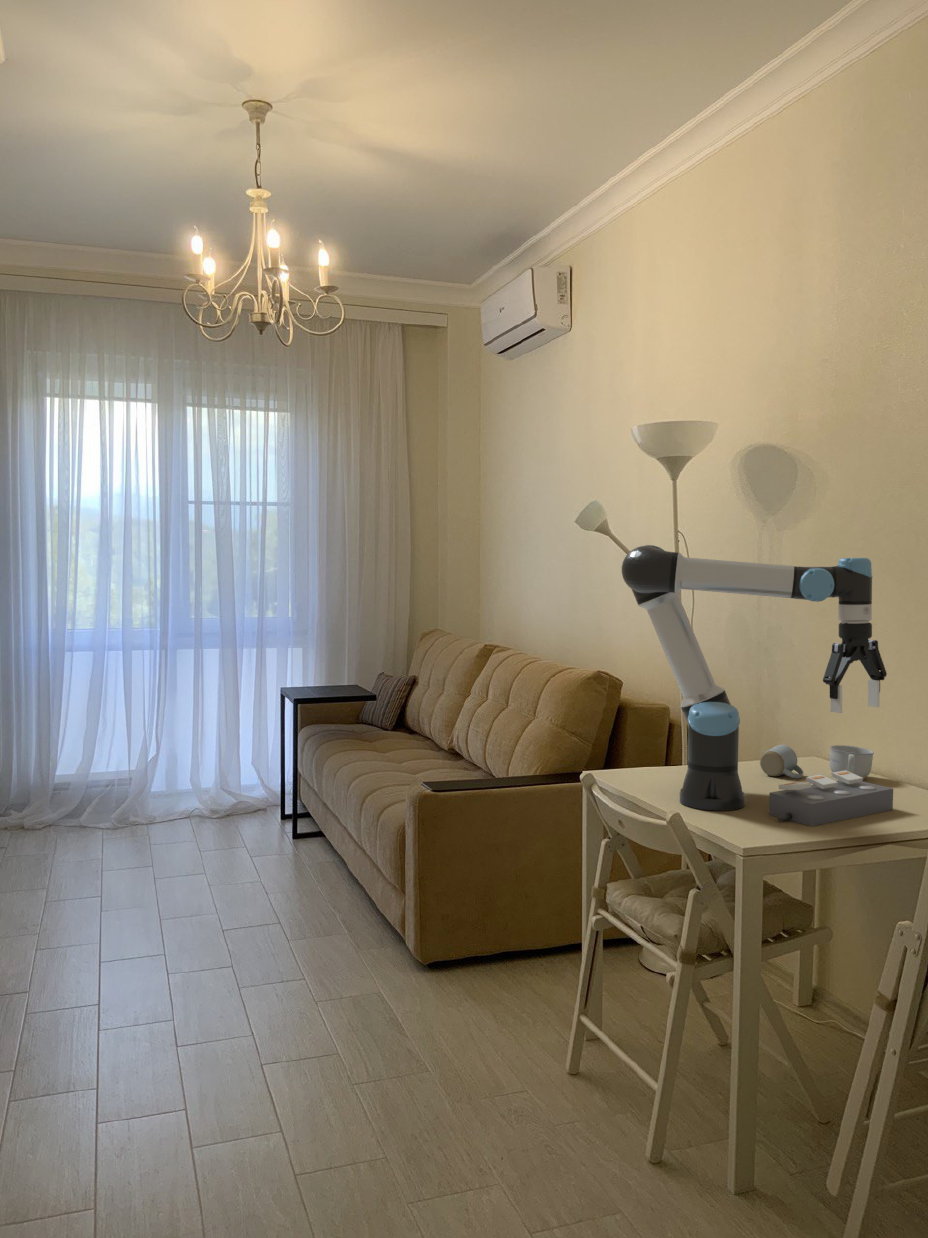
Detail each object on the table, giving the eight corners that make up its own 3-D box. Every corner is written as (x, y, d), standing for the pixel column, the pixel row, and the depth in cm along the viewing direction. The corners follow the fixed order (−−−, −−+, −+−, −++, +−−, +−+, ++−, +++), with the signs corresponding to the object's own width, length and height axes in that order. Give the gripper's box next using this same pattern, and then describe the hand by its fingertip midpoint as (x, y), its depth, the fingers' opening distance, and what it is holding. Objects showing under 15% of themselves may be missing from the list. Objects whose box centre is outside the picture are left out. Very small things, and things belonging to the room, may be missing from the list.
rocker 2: (822, 790, 235) (823, 784, 235) (805, 782, 240) (806, 776, 239) (836, 787, 238) (837, 781, 238) (819, 779, 242) (820, 774, 242)
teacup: (833, 771, 279) (834, 742, 278) (875, 776, 273) (876, 747, 273) (822, 781, 267) (823, 751, 266) (866, 787, 261) (867, 756, 261)
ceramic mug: (757, 775, 275) (758, 747, 274) (770, 770, 281) (771, 742, 280) (795, 782, 268) (796, 753, 267) (808, 776, 274) (809, 748, 273)
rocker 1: (796, 791, 231) (795, 785, 231) (779, 790, 235) (778, 784, 235) (811, 788, 233) (810, 782, 233) (794, 788, 237) (793, 781, 237)
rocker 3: (848, 785, 240) (849, 779, 240) (831, 777, 244) (832, 772, 244) (862, 783, 243) (863, 777, 242) (844, 775, 247) (845, 769, 247)
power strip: (799, 828, 222) (800, 805, 222) (757, 816, 232) (758, 793, 232) (892, 809, 239) (893, 787, 238) (849, 798, 249) (850, 777, 249)
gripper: (833, 625, 237) (833, 716, 238) (902, 619, 249) (902, 706, 251) (807, 624, 243) (807, 712, 244) (875, 618, 256) (875, 702, 257)
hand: (855, 709), depth 247 cm, fingers open, 13 cm apart
